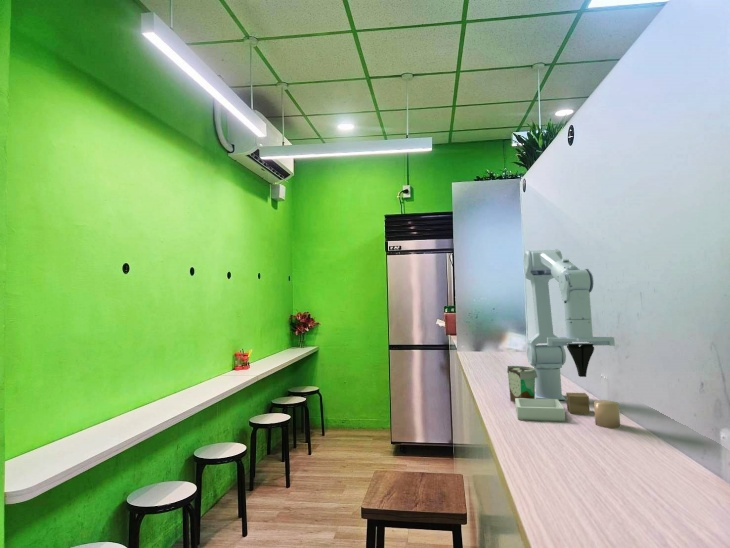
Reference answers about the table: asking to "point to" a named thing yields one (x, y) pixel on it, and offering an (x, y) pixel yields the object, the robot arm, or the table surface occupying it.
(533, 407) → the counting tray
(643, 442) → the table surface
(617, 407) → the beige rounded block
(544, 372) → the robot arm
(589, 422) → the table surface
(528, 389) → the food container
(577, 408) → the walnut block
